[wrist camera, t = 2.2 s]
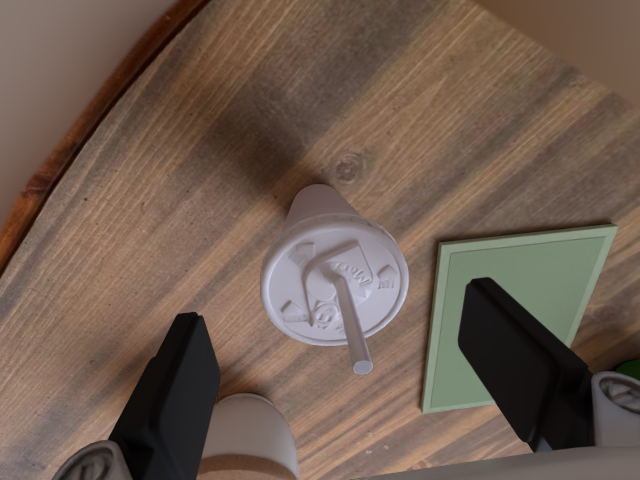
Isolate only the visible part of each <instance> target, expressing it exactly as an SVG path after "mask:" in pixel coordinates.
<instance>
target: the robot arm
mask: <svg viewBox="0 0 640 480" xmlns="http://www.w3.org/2000/svg"><path fill="white" fill-rule="evenodd" d="M458 346H459V349H460V351H461V352H462V354H463V355H464V357H465V358H466V360H467V361H468V363H469V364H470V366H471V367H472V369H473V370H474V372H475V373H476V375H477V376H478V378H479V379H480V380H481V382H482V383H483V385H484V386H485V388H486V389H487V391H488V392H489V394H490V395H491V397H492V398H493V400H494V401H495V403H496V404H497V406H498V407H499V409H500V410H501V412H502V413H503V415H504V416H505V418H506V419H507V421H508V422H509V424H510V425H511V427H512V428H513V430H514V431H515V433H516V434H517V436H518V437H519V438H520V439H521V440H522V441H523V442H527V443H528V445H529V446H530V448H531V449H532V451H533V452H534V453H529V454H522V455H515V456H508V457H501V458H494V459H487V460H480V461H473V462H466V463H459V464H452V465H445V466H438V467H431V468H425V469H418V470H411V471H404V472H398V473H391V474H384V475H377V476H371V477H364V478H357V479H351V480H640V381H638V380H637V379H634V378H632V377H629V376H627V375H624V374H620V373H616V372H607V371H603V372H599V373H596V374H595V375H593V374H592V373H591V372H590V371H589V370H588V369H587V368H588V365H587V364H586V363H585V362H584V361H583V360H581V359H580V358H579V357H578V356H577V355H576V354H575V353H574V352H573V351H572V350H570V349H569V348H568V347H567V346H566V345H565V344H564V343H563V342H562V341H560V340H559V339H558V338H557V337H556V336H555V335H554V334H553V333H552V332H551V331H549V330H548V329H547V328H546V327H545V326H544V325H543V324H542V323H541V322H539V321H538V320H537V319H536V318H535V317H534V316H533V315H532V314H531V313H529V312H528V311H527V310H526V309H525V308H524V307H523V306H522V305H521V304H520V303H518V302H517V301H516V300H515V299H514V298H513V297H512V296H511V295H510V294H508V293H507V292H506V291H505V290H504V289H503V288H502V287H501V286H500V285H499V284H497V283H496V282H495V281H494V280H493V279H492V278H490V277H483V278H475V279H472V280H471V281H470V283H468V284H467V285H466V288H465V295H464V301H463V308H462V314H461V320H460V327H459V333H458ZM219 384H220V369H219V366H218V363H217V360H216V356H215V353H214V350H213V347H212V343H211V340H210V337H209V334H208V331H207V327H206V324H205V321H204V318H203V316H198V314H197V313H196V312H190V313H182V314H178V315H177V316H176V317H175V319H174V321H173V323H172V325H171V327H170V329H169V331H168V333H167V335H166V337H165V339H164V341H163V343H162V345H161V347H160V349H159V350H158V352H157V354H156V356H155V357H153V358H152V359H151V360H150V361H149V363H148V364H147V366H146V368H145V370H144V372H143V374H142V376H141V377H140V379H139V381H138V383H137V385H136V387H135V389H134V391H133V393H132V395H131V396H130V398H129V400H128V402H127V404H126V406H125V408H124V410H123V412H122V413H121V415H120V417H119V419H118V421H117V423H116V425H115V427H114V429H113V430H112V432H111V434H110V436H109V438H108V440H100V441H97V442H94V443H91V444H89V445H87V446H85V447H84V448H82V449H80V450H79V451H77V452H76V453H75V454H73V455H72V456H71V457H69V458H68V459H67V460H66V461H65V463H64V464H63V465H62V466H61V467H60V468H59V469H58V471H57V472H56V473H55V475H54V476H53V478H52V479H51V480H196V478H197V474H198V470H199V466H200V462H201V458H202V454H203V450H204V445H205V441H206V437H207V433H208V429H209V425H210V421H211V417H212V412H213V408H214V404H215V400H216V396H217V392H218V388H219Z"/></svg>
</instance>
